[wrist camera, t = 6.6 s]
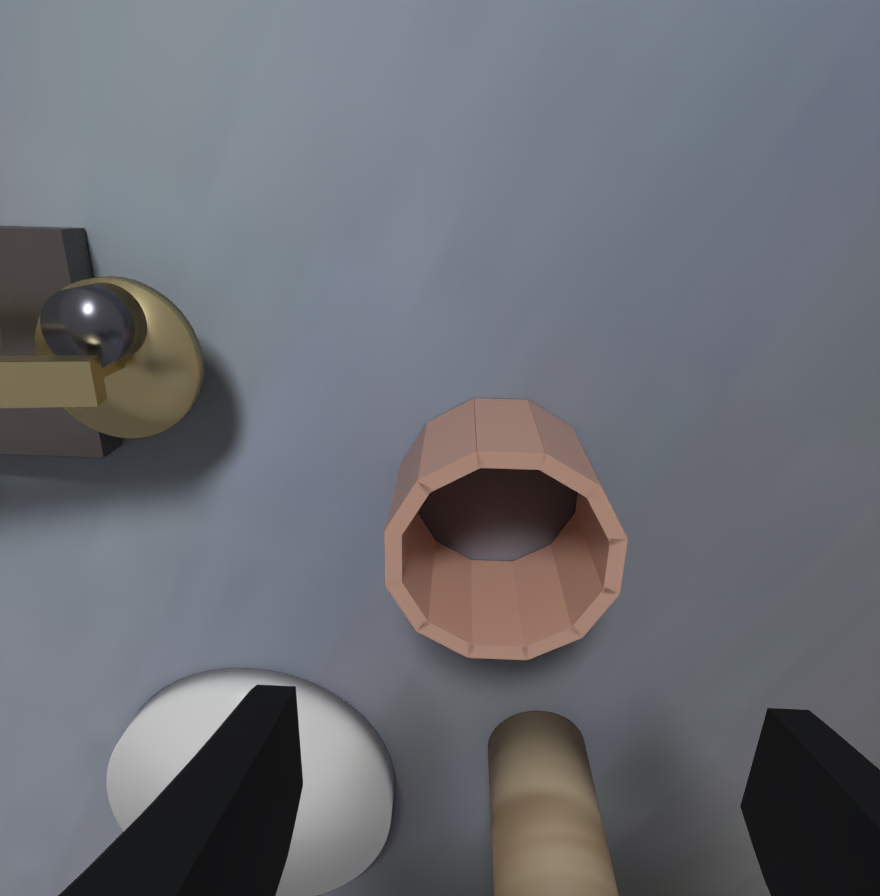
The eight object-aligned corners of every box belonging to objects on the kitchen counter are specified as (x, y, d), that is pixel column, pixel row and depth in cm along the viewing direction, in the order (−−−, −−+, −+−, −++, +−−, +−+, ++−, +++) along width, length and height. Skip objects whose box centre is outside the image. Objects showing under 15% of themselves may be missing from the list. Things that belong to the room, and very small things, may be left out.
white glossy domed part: (395, 876, 25) (392, 908, 23) (145, 863, 25) (130, 894, 24) (394, 674, 21) (390, 701, 20) (102, 661, 21) (82, 686, 20)
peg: (579, 786, 22) (621, 999, 16) (485, 781, 23) (493, 991, 17) (589, 713, 21) (640, 915, 15) (490, 708, 21) (500, 907, 15)
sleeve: (581, 575, 19) (609, 663, 16) (401, 568, 19) (386, 654, 16) (602, 402, 17) (640, 455, 13) (400, 396, 17) (383, 448, 14)
